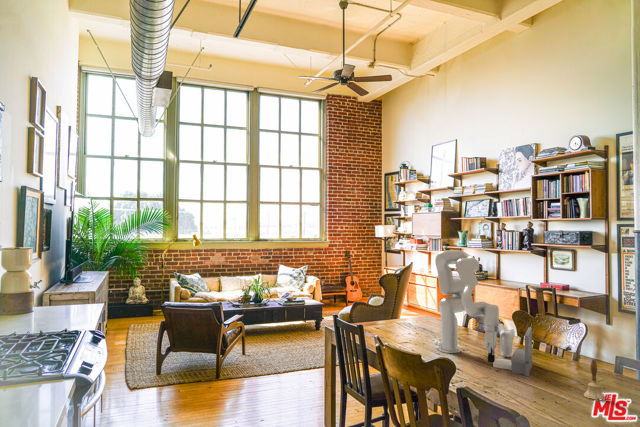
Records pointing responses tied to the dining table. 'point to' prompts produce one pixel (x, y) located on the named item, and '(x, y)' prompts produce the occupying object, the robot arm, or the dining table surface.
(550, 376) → the dining table surface
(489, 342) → the robot arm
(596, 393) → the hand bell
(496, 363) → the ceramic tile
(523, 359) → the gray l-shaped bracket
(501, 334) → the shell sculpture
